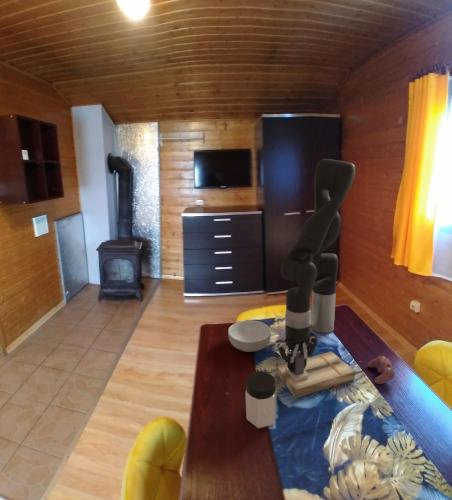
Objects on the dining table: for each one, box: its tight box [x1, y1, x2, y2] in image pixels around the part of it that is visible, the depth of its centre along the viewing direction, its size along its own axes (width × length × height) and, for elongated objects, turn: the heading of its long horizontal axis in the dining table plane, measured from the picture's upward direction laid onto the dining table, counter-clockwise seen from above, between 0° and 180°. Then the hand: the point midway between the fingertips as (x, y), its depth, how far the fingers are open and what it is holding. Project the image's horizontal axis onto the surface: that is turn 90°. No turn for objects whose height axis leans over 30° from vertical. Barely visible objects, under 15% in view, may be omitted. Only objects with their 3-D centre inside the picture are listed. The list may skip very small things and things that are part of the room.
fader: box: [285, 351, 309, 381], centre depth 97 cm, size 6×5×7 cm
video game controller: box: [367, 355, 395, 385], centre depth 100 cm, size 10×5×7 cm, turn 169°
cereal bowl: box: [227, 319, 272, 353], centre depth 119 cm, size 17×17×7 cm
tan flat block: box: [276, 350, 356, 399], centre depth 101 cm, size 12×22×3 cm, turn 109°
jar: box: [245, 371, 277, 429], centre depth 85 cm, size 9×8×12 cm
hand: (296, 368), depth 98 cm, fingers open, 3 cm apart
